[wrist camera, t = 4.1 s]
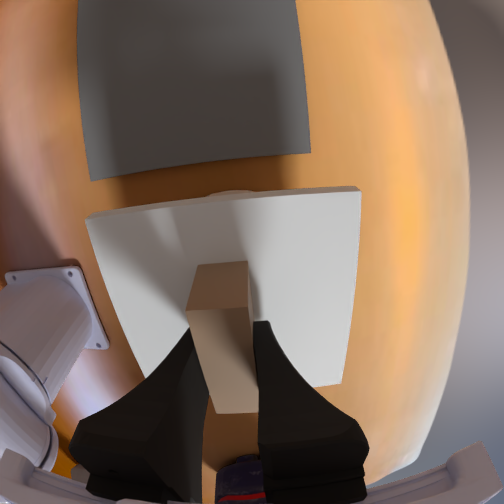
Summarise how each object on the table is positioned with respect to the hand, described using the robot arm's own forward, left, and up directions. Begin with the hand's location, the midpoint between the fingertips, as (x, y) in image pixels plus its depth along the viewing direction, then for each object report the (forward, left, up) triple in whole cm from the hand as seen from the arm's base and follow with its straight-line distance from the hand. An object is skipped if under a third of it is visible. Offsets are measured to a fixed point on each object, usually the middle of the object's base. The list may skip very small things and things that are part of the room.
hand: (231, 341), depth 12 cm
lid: (0, 0, -2) cm, 2 cm away
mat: (-2, +13, -9) cm, 16 cm away
